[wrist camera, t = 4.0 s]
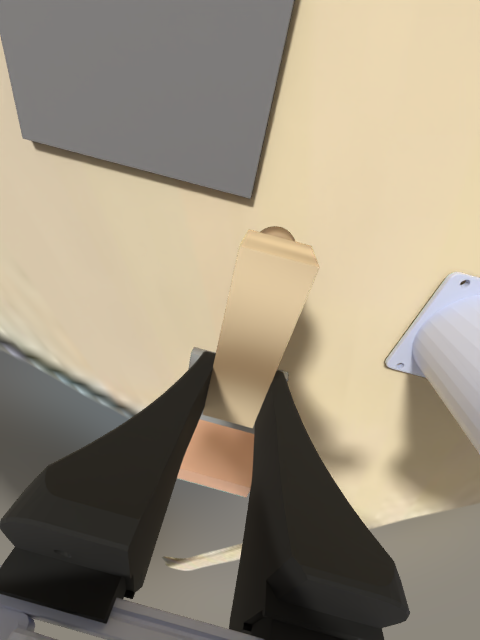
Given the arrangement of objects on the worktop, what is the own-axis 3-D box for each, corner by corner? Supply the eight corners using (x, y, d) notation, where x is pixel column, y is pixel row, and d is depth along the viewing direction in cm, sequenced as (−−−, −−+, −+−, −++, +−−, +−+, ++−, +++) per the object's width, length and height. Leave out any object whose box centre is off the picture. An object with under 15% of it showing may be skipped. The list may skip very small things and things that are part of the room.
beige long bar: (214, 209, 11) (179, 230, 7) (346, 244, 11) (380, 283, 7) (184, 407, 18) (160, 468, 15) (262, 428, 18) (257, 494, 15)
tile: (258, 412, 25) (251, 488, 19) (253, 424, 26) (245, 498, 20) (192, 394, 25) (165, 464, 19) (190, 407, 26) (163, 476, 20)
